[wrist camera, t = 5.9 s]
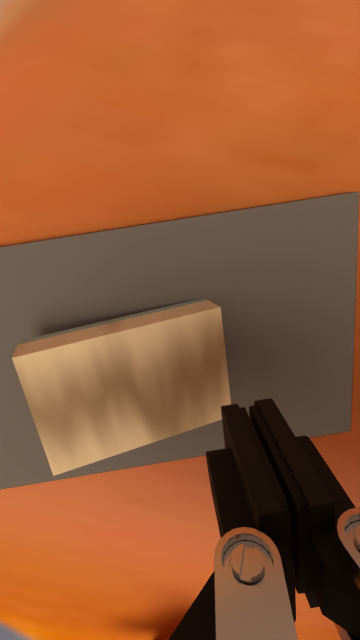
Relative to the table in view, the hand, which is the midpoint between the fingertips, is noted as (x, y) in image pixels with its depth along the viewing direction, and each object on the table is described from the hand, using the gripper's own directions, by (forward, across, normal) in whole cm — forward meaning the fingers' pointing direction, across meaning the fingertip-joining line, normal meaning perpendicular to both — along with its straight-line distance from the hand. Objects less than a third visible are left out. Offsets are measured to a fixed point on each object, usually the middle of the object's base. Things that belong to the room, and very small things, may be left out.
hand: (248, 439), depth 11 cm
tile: (+6, 0, 0) cm, 7 cm away
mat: (+8, +3, 0) cm, 9 cm away
